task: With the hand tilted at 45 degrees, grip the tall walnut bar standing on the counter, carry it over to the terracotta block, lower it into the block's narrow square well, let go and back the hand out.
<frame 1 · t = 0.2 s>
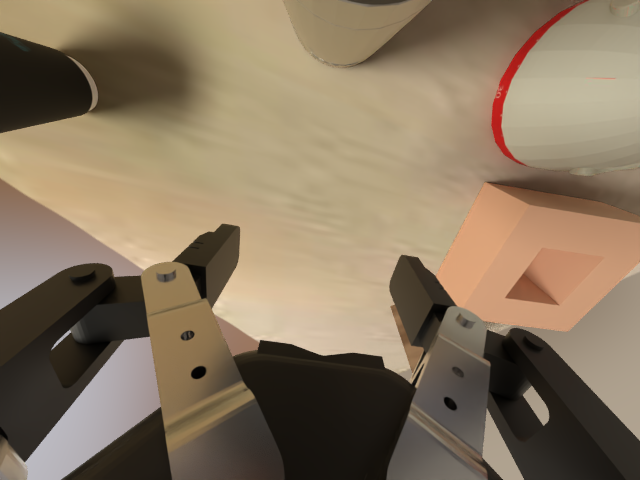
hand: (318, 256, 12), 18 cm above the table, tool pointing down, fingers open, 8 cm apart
terracotta well block: (508, 245, 32), on the table
walnut bar: (408, 309, 39), on the table
kitchen timer: (564, 93, 24), on the table
dixie cup: (73, 84, 24), on the table
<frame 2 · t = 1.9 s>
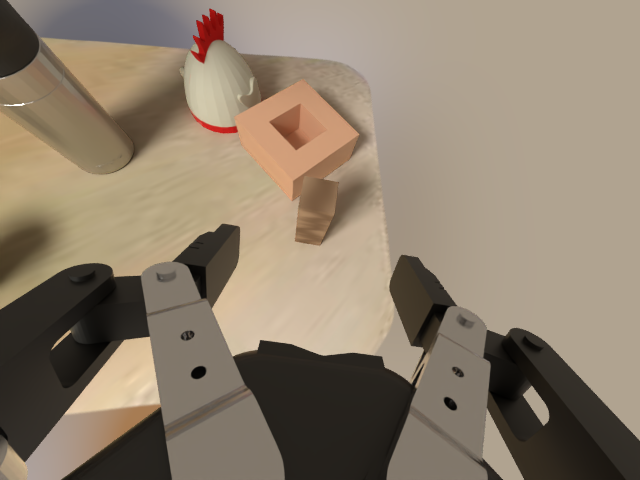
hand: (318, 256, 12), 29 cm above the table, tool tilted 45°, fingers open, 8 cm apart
terracotta well block: (296, 152, 47), on the table
walnut bar: (309, 231, 43), on the table
kitchen timer: (227, 106, 49), on the table
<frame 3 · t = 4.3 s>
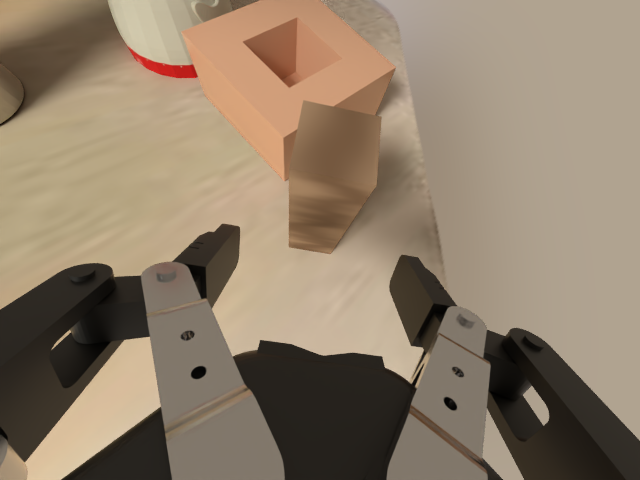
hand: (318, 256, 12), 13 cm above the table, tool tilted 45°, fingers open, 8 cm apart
terracotta well block: (292, 108, 30), on the table
walnut bar: (312, 231, 26), on the table
kitchen timer: (186, 40, 32), on the table
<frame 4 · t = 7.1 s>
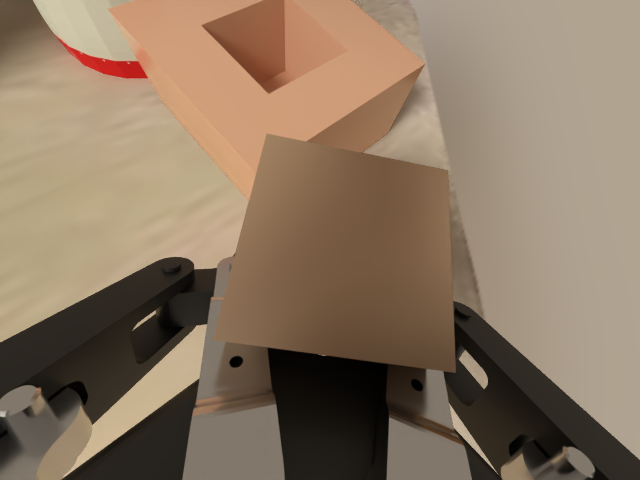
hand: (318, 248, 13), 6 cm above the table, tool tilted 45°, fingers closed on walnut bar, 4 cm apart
terracotta well block: (280, 118, 23), on the table
walnut bar: (305, 295, 18), on the table, touching gripper
kitchen timer: (143, 29, 24), on the table
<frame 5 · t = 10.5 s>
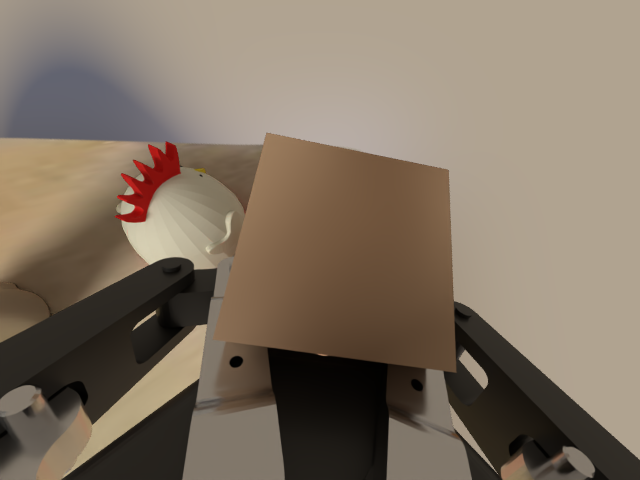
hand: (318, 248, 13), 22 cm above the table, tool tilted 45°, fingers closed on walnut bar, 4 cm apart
walnut bar: (305, 295, 18), point 15 cm above the table, touching gripper
kitchen timer: (198, 230, 34), on the table
when the fingers open (9 cm above the table, at t = 14.1 s): walnut bar drops 1 cm, resting on terracotta well block.
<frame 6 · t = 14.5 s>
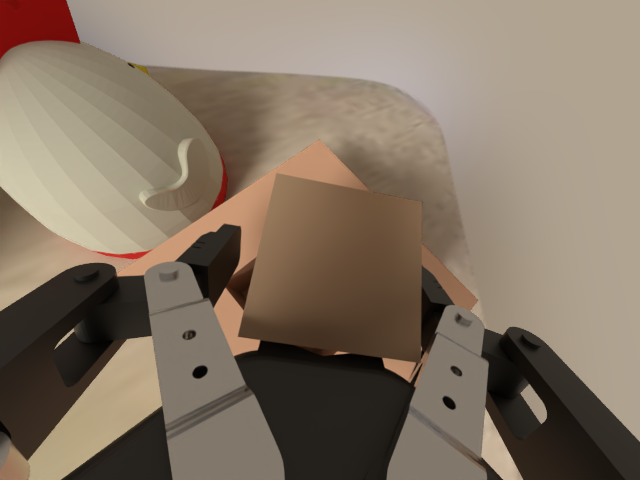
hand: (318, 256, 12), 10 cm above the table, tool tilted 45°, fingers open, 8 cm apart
terracotta well block: (303, 297, 20), on the table
walnut bar: (305, 297, 20), point 1 cm above the table, touching terracotta well block
kitchen timer: (149, 186, 22), on the table
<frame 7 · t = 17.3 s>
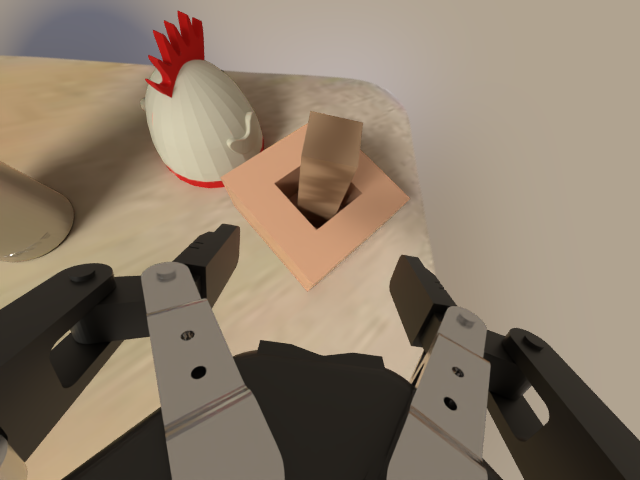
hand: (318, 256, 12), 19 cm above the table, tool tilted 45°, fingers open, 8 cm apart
terracotta well block: (313, 213, 33), on the table
walnut bar: (314, 211, 32), point 1 cm above the table, touching terracotta well block
kitchen timer: (215, 146, 35), on the table
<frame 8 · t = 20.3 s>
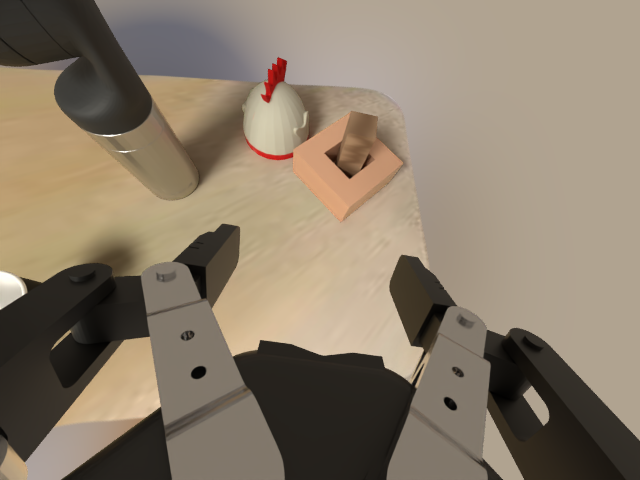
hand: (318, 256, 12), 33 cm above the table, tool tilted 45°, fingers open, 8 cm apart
terracotta well block: (341, 176, 52), on the table
walnut bar: (343, 174, 51), point 1 cm above the table, touching terracotta well block
kitchen timer: (277, 134, 53), on the table
dixie cup: (68, 307, 38), on the table
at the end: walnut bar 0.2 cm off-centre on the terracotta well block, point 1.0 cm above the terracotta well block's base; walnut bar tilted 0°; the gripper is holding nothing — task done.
